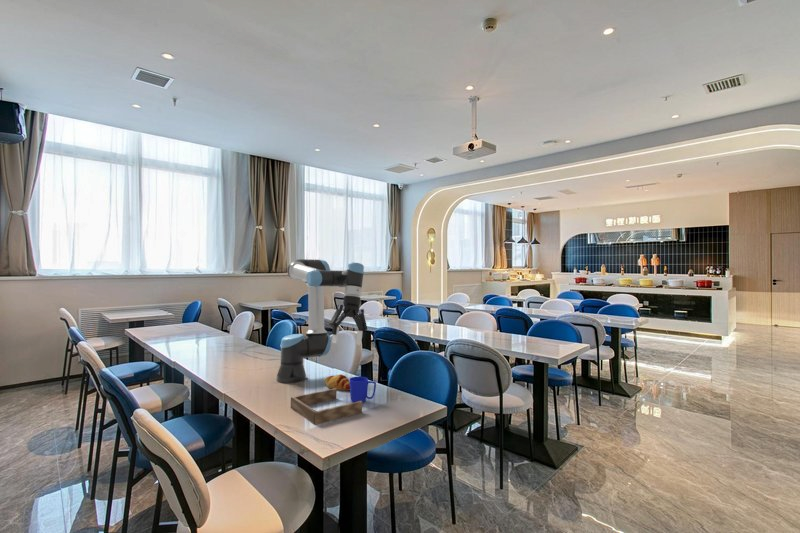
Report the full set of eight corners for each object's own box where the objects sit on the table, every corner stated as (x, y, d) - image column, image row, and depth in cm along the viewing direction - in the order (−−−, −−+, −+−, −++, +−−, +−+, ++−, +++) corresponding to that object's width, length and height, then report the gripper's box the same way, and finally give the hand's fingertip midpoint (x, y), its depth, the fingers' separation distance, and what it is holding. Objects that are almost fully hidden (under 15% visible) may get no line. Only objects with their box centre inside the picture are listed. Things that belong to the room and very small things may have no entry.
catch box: (335, 398, 173) (335, 388, 174) (362, 412, 156) (362, 401, 156) (290, 407, 160) (290, 397, 160) (314, 424, 143) (315, 412, 143)
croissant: (320, 390, 195) (314, 378, 193) (334, 378, 202) (328, 366, 200) (348, 399, 182) (342, 386, 179) (361, 385, 188) (356, 372, 186)
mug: (373, 405, 164) (373, 382, 164) (346, 403, 167) (346, 380, 167) (377, 399, 172) (378, 377, 173) (352, 397, 175) (353, 375, 175)
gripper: (336, 290, 161) (329, 341, 155) (377, 300, 178) (373, 346, 173) (325, 291, 166) (318, 341, 160) (366, 301, 183) (362, 346, 178)
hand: (346, 344), depth 167 cm, fingers open, 13 cm apart
